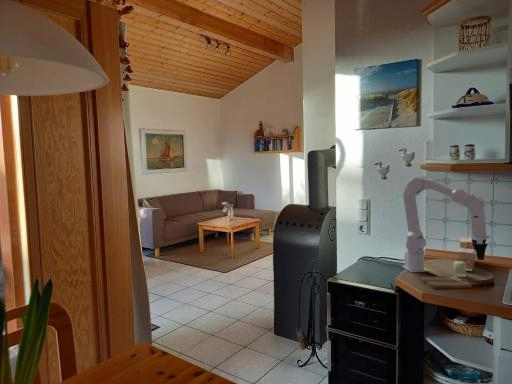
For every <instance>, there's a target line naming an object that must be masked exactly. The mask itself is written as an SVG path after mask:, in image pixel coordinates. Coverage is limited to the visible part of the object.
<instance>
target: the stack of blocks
mask: <svg viewBox="0 0 512 384" xmlns="http://www.w3.org/2000/svg"><path fill="white" fill-rule="evenodd" d="M472 243H473V242H472V241H471V236H469V237H468V236H467V237H466V236H461V237H460V241H459V249H458V258H457V261H462V262H466V268H468V269H473V270H474V265H475V260H476V256H475V254H476V251H475V248H474V247H473V245H472Z"/></svg>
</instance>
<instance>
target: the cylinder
mask: <svg viewBox="0 0 512 384" xmlns="http://www.w3.org/2000/svg"><path fill="white" fill-rule="evenodd" d="M453 273H461V274H465V273H466V274H467V272H466V262H462V261H458V260H455V261H453Z"/></svg>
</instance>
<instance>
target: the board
mask: <svg viewBox="0 0 512 384" xmlns="http://www.w3.org/2000/svg"><path fill="white" fill-rule="evenodd" d="M446 276H447V275H436V276H434V275H433V276H420V277H419V281H421V282H423V283H424V284H426V285H427V286H429V287H430V288H432V289H434V290H443V289H444V290H445V289H464V288H466V289H467V288H468V289H469V288H473V284H472V283H471V282H469V281H467V280H465V281H464V282H463V281H462V282H461V281H457V280H454V279H451V278H449V277H446Z"/></svg>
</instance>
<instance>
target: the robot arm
mask: <svg viewBox="0 0 512 384" xmlns="http://www.w3.org/2000/svg"><path fill="white" fill-rule="evenodd" d="M424 190H433V191H436V192H437V193H441V194H443V195H445V196H448V197H449V198H450V200H451V201H452V202H453V203H456V204H458V205H459V206H462V207H464V208H467V209H468V211H469V222H470V223H469V226H470V238H471V241H472V242H473V243H472V245H473V247H474V248H475V254H476V258H477V261H484V260H485V255H486V254H485V253H486V250H487V247H488V243H486V242H487V239H490V238H491V236H490V235H487V224H486V214H485V209H484V208H485V207H486V201H485V200H484V199H483V198H481V196H476V195H475V194H470V193H468V192H466V191H465V189H463V188H460V189H459V188H457V189H452V188H450V187H448V186H447V185H445V184H443V183H440V182H438V181H437V180H434V179H432V178H430V177H426V176H424V175H421V176H418V177H417V176H416V177H415V176H414V177H412V178H410V180H408V181H407V182H406V187H405V189H404V192H403V195H402V196H403V203H404V209H405V218H406V225H407V230H408V232H407V236H406V243H405V247H406V249H407V250H406V251H405V252H404V261H403V262H404V263H403V264H404V265H402V267H403V268H404V269H405V270H407V271H408V272H410V273H425V272H427V273H428V270H427V269H426V270H427V271H426V270H424V269H425V249H424V248H425V246H426V245H427V241H426V239H425V237H424V233H423V232H422V230H421V227H420V226H421V225H420V219H419V212H418V211H419V210H418V206H417V200H416V199H417V198H416V197H417V196H418V195H419V194H421V192H422V191H424Z"/></svg>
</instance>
